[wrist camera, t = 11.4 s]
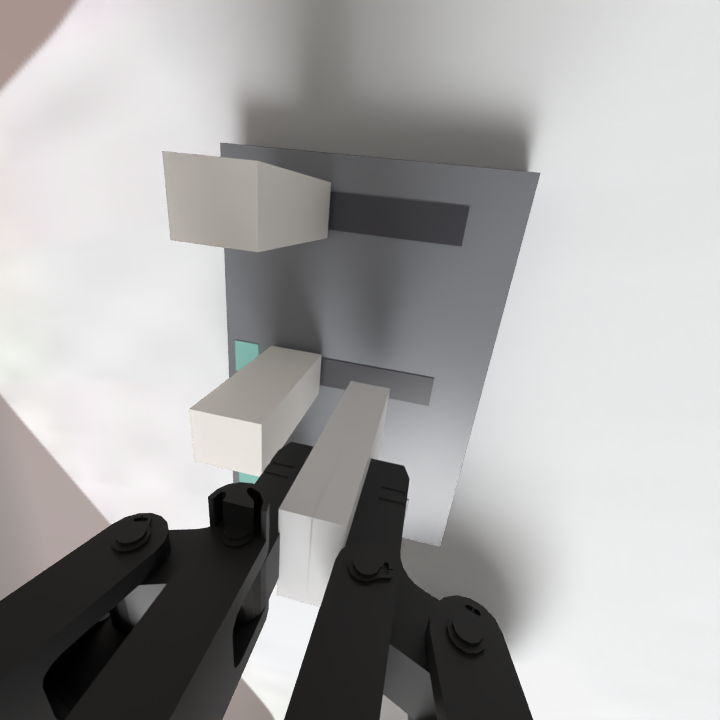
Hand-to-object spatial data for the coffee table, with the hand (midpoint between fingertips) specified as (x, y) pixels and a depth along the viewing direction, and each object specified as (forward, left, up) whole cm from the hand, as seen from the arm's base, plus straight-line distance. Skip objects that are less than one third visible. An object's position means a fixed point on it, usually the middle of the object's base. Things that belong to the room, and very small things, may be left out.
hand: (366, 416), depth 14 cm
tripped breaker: (+4, 0, -3) cm, 5 cm away
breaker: (+4, -7, -3) cm, 9 cm away
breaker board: (+2, 0, -5) cm, 5 cm away
